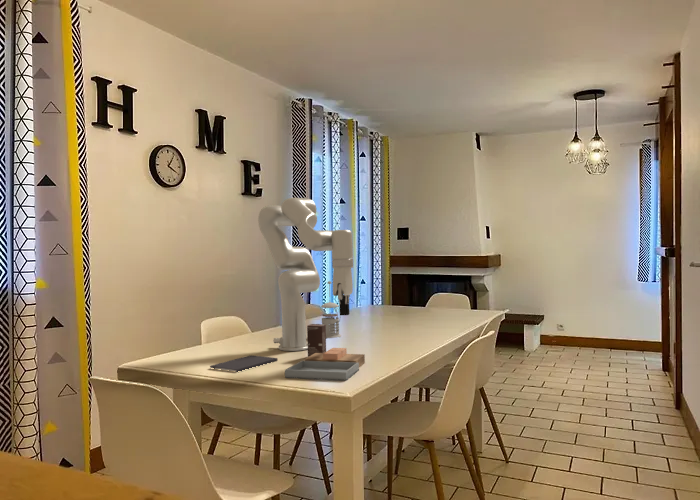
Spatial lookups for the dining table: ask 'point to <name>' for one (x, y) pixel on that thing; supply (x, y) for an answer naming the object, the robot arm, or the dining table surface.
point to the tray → (322, 370)
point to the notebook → (244, 363)
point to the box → (316, 338)
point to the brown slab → (346, 358)
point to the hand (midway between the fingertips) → (344, 314)
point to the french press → (331, 319)
